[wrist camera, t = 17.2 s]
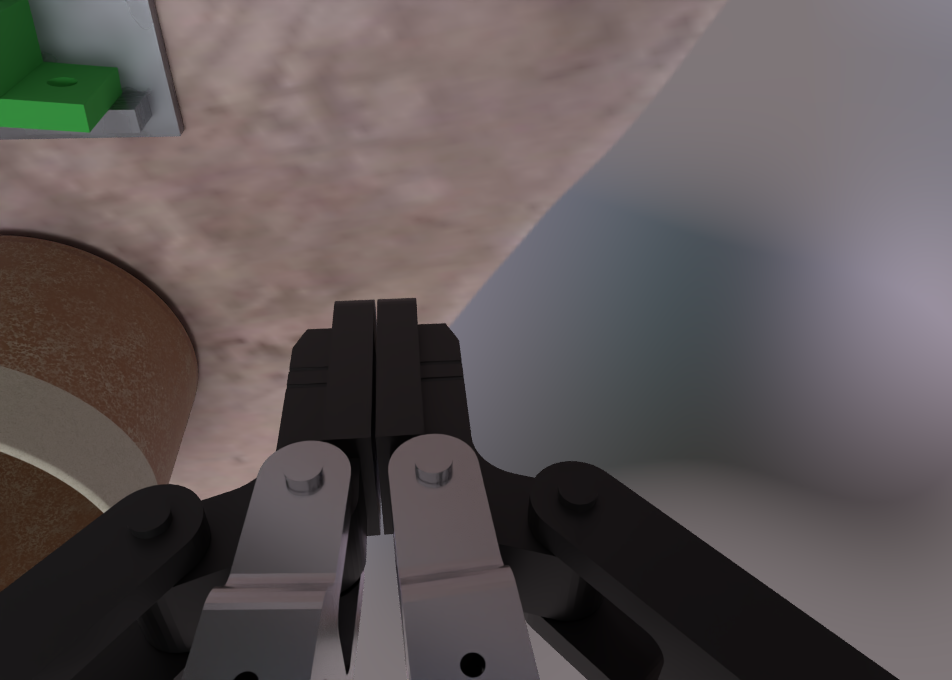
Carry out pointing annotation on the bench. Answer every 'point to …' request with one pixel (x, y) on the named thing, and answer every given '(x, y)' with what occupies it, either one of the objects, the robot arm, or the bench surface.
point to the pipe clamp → (47, 81)
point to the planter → (81, 394)
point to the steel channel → (110, 63)
